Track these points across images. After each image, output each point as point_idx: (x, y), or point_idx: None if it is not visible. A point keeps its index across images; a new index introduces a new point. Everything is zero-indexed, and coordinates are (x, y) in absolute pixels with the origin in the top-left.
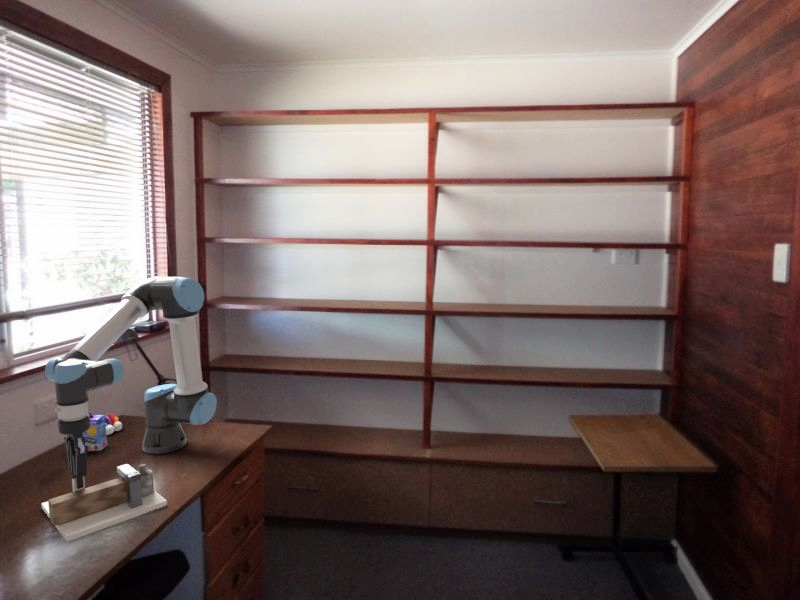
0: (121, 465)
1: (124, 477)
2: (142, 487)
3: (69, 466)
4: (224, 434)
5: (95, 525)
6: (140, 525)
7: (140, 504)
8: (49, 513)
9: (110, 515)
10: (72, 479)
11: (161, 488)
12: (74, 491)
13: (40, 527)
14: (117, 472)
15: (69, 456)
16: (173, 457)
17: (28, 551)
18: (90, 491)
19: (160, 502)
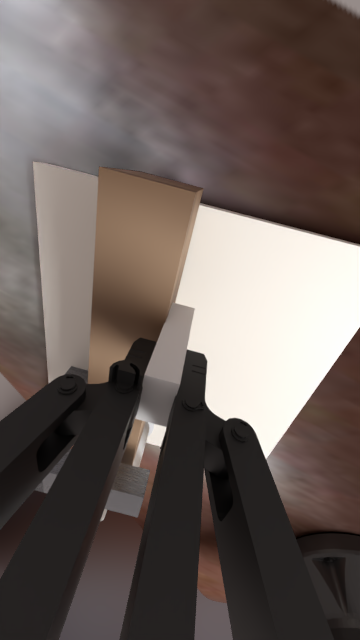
0: (139, 506)
1: (67, 454)
2: None
3: (240, 454)
4: None
5: (44, 265)
6: (3, 331)
7: None
8: (200, 189)
9: (76, 321)
10: (173, 368)
11: (147, 446)
12: (164, 323)
13: (243, 162)
14: (146, 470)
15: (256, 585)
16: None
17: (81, 5)
18: (101, 352)
19: None
